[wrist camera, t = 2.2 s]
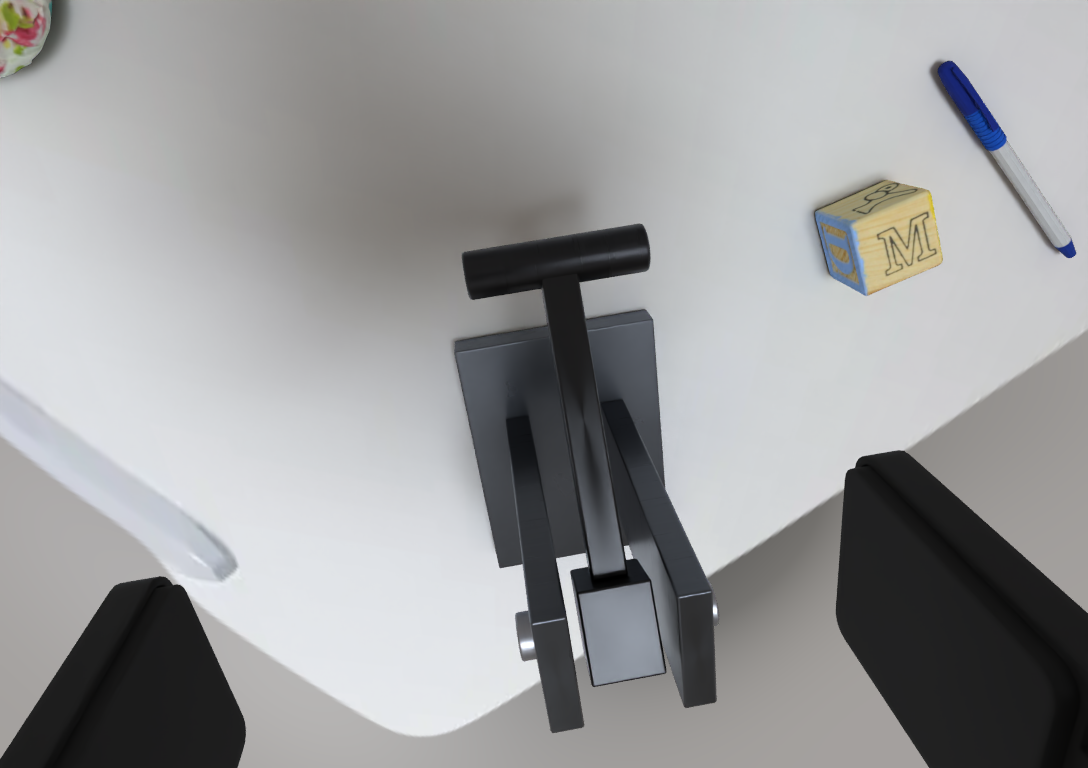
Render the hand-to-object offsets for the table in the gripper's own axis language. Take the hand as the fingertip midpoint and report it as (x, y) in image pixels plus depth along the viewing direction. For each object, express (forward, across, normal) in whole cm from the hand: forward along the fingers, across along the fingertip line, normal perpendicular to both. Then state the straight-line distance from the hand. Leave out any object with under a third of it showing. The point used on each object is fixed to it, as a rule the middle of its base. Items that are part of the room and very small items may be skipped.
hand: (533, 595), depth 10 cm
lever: (+11, -2, +5) cm, 13 cm away
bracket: (+19, -2, +9) cm, 21 cm away
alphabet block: (+19, -15, +1) cm, 24 cm away
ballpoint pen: (+19, -21, 0) cm, 28 cm away
